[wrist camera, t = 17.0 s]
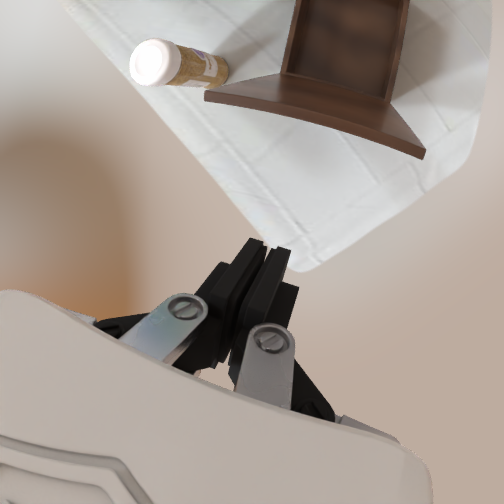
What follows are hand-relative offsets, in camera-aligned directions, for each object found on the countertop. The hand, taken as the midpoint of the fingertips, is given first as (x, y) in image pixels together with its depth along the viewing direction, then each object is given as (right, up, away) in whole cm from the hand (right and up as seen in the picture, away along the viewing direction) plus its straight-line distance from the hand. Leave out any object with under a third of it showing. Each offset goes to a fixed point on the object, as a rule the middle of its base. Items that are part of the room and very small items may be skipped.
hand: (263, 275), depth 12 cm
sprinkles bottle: (-5, +23, +19) cm, 31 cm away
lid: (+5, +12, +6) cm, 14 cm away
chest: (+10, +25, +13) cm, 30 cm away
